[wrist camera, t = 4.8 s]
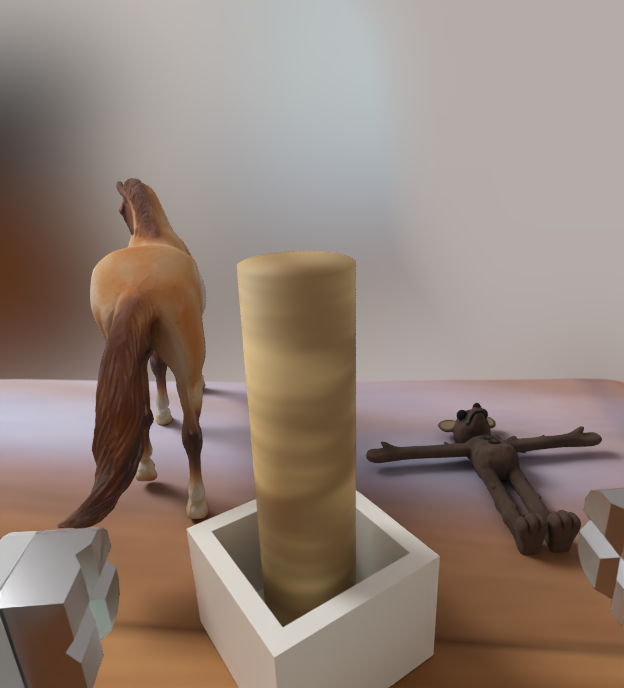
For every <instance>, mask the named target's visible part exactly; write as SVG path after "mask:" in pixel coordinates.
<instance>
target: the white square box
mask: <svg viewBox="0 0 624 688" xmlns="http://www.w3.org/2000/svg"><path fill="white" fill-rule="evenodd" d="M187 535H188V542H189V548H190V555H191V562H192V568H193V575H194V581H195V588H196V595H197V601H198V608H199V614H200V621H201V623H202V625H203V626H204V628H205V630H206V632H207V633H208V635H209V637H210V639H211V640H212V642H213V644H214V646H215V647H216V649H217V651H218V652H219V654H220V656H221V658H222V659H223V661H224V663H225V665H226V666H227V668H228V670H229V672H230V673H231V675H232V677H233V678H234V680H235V682H236V684H237V685H238V687H239V688H389V687H390V686H392V685H393V684H395V683H396V682H397V681H399V680H400V679H401V678H403V677H404V676H405V675H407V674H408V673H409V672H411V671H412V670H413V669H415V668H416V667H418V666H419V665H420V664H422V663H423V662H424V661H426V660H427V659H428V658H430V657H431V656H432V655H434V639H435V623H436V607H437V591H438V575H439V559H440V556H439V555H438V554H436V553H435V552H434V551H433V550H431V549H430V548H429V547H427V546H426V545H425V544H424V543H422V542H421V541H420V540H419V539H417V538H416V537H415V536H414V535H412V534H411V533H410V532H409V531H407V530H406V529H405V528H404V527H402V526H401V525H400V524H398V523H397V522H396V521H395V520H393V519H392V518H391V517H390V516H388V515H387V514H386V513H385V512H383V511H382V510H381V509H380V508H378V507H377V506H376V505H375V504H373V503H372V502H371V501H370V500H368V499H367V498H366V497H364V496H363V495H362V494H361V493H359V492H358V491H357V490H356V585H355V586H353V587H351V588H349V589H348V590H346V591H344V592H343V593H341V594H339V595H338V596H336V597H334V598H332V599H331V600H329V601H327V602H326V603H324V604H322V605H320V606H319V607H317V608H315V609H314V610H312V611H310V612H308V613H307V614H305V615H303V616H302V617H300V618H298V619H296V620H295V621H293V622H291V623H290V624H288V625H286V626H285V627H282V626H281V625H280V623H279V622H278V620H277V619H276V618H275V616H274V615H273V614H272V612H271V611H270V610H269V608H268V607H267V606H266V604H265V600H264V588H263V576H262V564H261V552H260V540H259V528H258V516H257V504H256V499H254V500H252V501H250V502H247V503H245V504H243V505H240V506H238V507H236V508H233V509H231V510H229V511H226V512H224V513H222V514H219V515H217V516H215V517H212V518H210V519H208V520H206V521H203V522H201V523H199V524H196V525H194V526H192V527H189V528H187Z"/></svg>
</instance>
